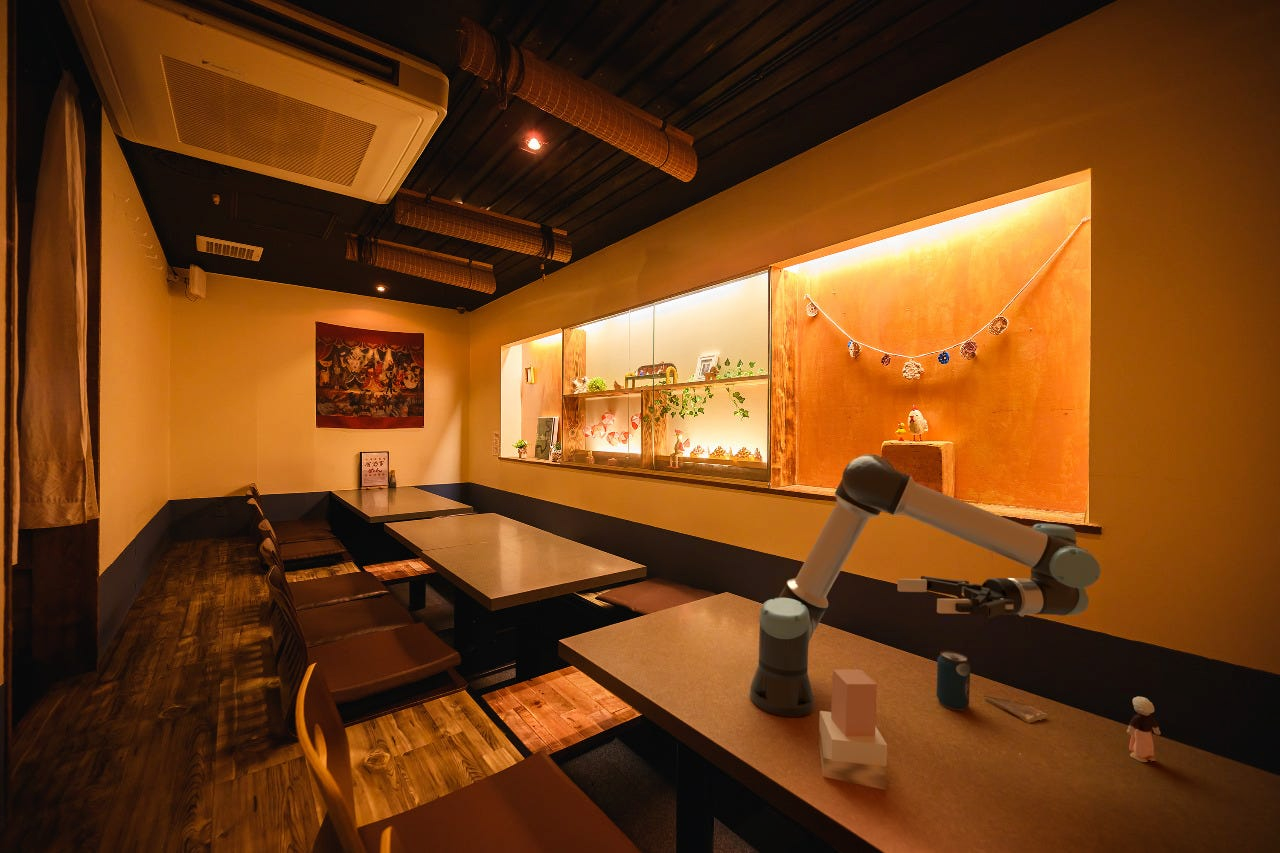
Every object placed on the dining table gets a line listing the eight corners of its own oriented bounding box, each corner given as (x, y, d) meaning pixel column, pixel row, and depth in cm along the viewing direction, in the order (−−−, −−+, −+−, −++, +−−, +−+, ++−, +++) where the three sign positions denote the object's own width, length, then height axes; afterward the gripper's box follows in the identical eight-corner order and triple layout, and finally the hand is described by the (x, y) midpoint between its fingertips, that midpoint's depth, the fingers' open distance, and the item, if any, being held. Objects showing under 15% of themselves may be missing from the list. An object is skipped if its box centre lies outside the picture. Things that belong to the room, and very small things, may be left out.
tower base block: (822, 778, 97) (823, 757, 97) (819, 745, 107) (819, 726, 107) (885, 792, 94) (886, 770, 94) (875, 756, 104) (876, 736, 104)
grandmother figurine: (1140, 749, 109) (1141, 690, 110) (1163, 760, 106) (1165, 699, 106) (1118, 756, 107) (1120, 695, 107) (1141, 767, 103) (1143, 705, 103)
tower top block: (831, 760, 96) (832, 739, 96) (819, 729, 106) (819, 710, 106) (886, 766, 95) (887, 745, 95) (868, 735, 105) (869, 715, 105)
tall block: (845, 736, 97) (847, 684, 97) (831, 718, 103) (832, 669, 103) (875, 735, 98) (876, 684, 98) (859, 718, 104) (860, 669, 104)
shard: (982, 701, 128) (983, 694, 128) (1004, 697, 131) (1004, 690, 131) (1027, 725, 118) (1027, 717, 118) (1050, 720, 120) (1050, 713, 120)
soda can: (974, 713, 121) (975, 663, 122) (942, 709, 123) (943, 659, 123) (961, 698, 128) (963, 651, 128) (932, 695, 130) (933, 648, 130)
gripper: (1061, 636, 97) (957, 636, 96) (967, 594, 122) (884, 593, 121) (1062, 597, 98) (958, 596, 96) (968, 563, 122) (885, 562, 121)
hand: (916, 594), depth 108 cm, fingers open, 13 cm apart
